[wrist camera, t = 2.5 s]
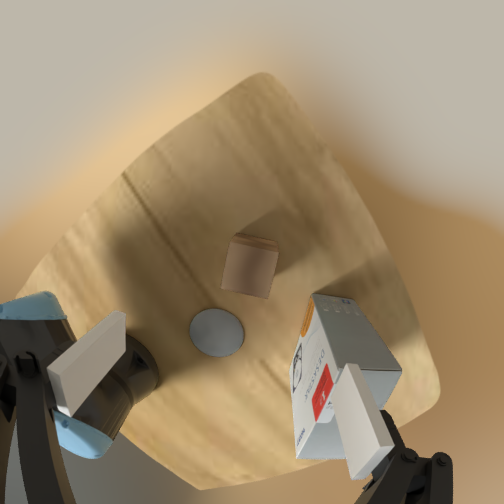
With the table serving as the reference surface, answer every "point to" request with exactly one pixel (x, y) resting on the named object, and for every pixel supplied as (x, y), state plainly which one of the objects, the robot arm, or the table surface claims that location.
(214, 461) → the table surface
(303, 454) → the hard drive box
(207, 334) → the slate coaster
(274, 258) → the walnut block
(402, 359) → the table surface
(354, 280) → the table surface
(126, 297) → the table surface
